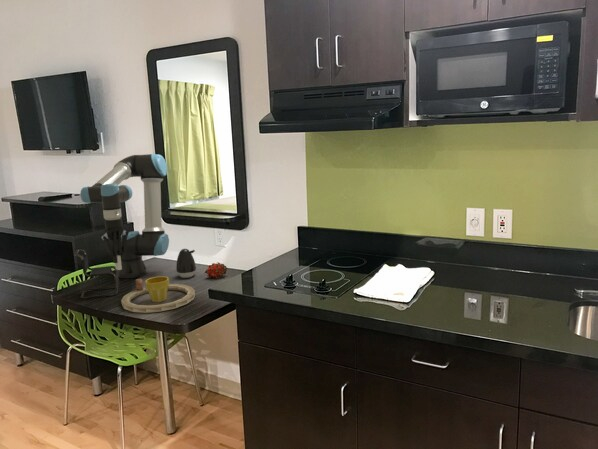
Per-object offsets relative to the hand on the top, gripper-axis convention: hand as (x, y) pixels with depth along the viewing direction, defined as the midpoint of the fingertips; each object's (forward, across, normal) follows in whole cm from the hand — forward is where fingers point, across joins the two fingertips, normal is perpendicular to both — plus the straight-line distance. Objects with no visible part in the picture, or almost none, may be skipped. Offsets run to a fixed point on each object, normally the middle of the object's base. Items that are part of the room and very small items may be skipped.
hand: (118, 269), depth 223 cm
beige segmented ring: (+15, +10, -14) cm, 23 cm away
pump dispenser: (+15, +40, +3) cm, 43 cm away
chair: (+15, 0, +19) cm, 24 cm away
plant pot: (+15, +10, -14) cm, 23 cm away
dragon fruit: (+15, +47, -12) cm, 51 cm away
